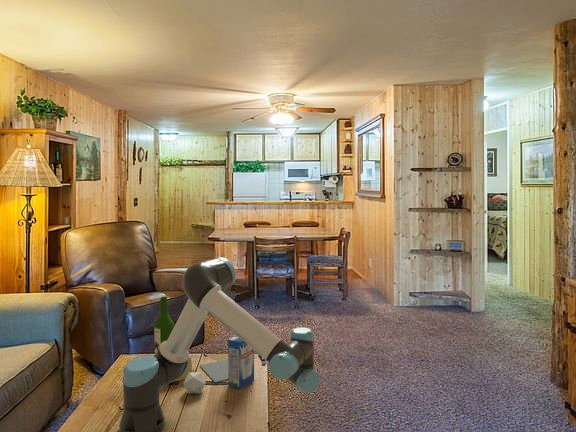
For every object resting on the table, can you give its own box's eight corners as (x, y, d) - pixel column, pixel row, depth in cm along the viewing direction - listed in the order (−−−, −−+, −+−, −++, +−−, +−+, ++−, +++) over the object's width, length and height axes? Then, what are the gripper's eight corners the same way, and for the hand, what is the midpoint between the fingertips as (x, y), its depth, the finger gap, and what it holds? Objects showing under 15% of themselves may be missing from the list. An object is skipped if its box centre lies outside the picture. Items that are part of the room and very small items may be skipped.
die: (194, 401, 171) (208, 378, 173) (176, 388, 172) (190, 367, 175) (198, 398, 179) (211, 377, 181) (181, 387, 180) (194, 366, 182)
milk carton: (240, 389, 179) (239, 342, 178) (228, 385, 183) (227, 339, 181) (254, 380, 188) (254, 335, 186) (243, 376, 191) (242, 332, 190)
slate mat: (214, 383, 185) (214, 381, 185) (199, 366, 202) (199, 365, 202) (253, 373, 194) (253, 372, 194) (235, 358, 211) (235, 357, 211)
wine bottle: (151, 366, 202) (149, 298, 200) (167, 360, 209) (165, 294, 207) (163, 371, 196) (161, 301, 194) (178, 365, 204) (177, 297, 201)
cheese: (163, 374, 194) (162, 352, 193) (187, 369, 199) (187, 348, 198) (167, 383, 185) (166, 361, 184) (192, 379, 189) (192, 356, 188)
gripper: (271, 380, 147) (243, 357, 167) (303, 372, 153) (272, 350, 173) (271, 359, 146) (242, 338, 167) (303, 351, 153) (272, 332, 173)
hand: (258, 344), depth 170 cm, fingers closed
